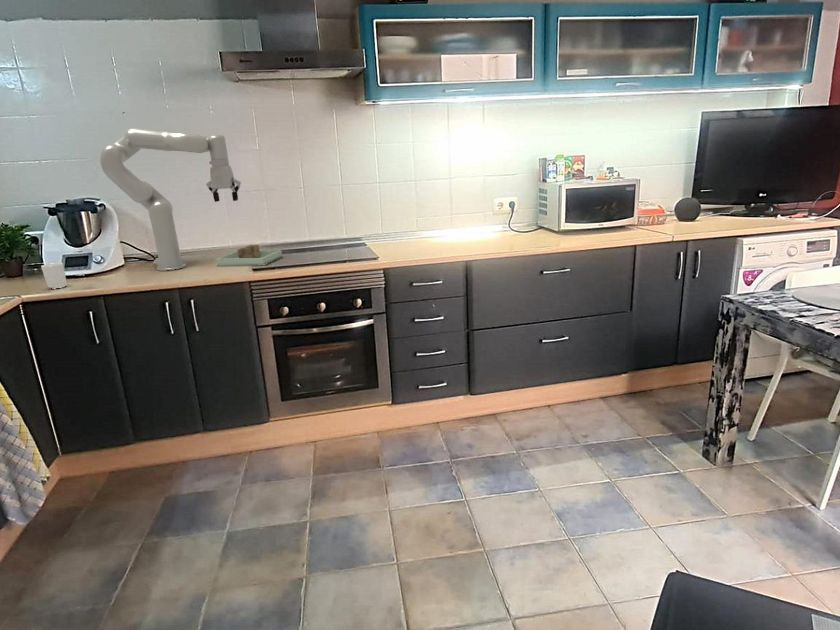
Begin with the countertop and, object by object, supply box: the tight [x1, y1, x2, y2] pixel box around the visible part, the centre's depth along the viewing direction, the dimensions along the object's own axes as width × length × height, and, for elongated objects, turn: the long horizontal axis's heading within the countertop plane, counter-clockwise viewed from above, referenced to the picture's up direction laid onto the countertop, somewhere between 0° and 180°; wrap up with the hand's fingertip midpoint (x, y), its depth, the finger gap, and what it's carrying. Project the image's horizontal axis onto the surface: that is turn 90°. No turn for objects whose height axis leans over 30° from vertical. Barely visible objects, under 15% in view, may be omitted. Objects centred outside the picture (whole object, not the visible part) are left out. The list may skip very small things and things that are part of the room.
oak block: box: [244, 244, 261, 258], centre depth 272 cm, size 4×4×6 cm
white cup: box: [40, 262, 68, 288], centre depth 240 cm, size 8×8×10 cm
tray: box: [215, 250, 283, 267], centre depth 269 cm, size 24×18×4 cm
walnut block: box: [237, 247, 253, 258], centre depth 266 cm, size 4×4×6 cm
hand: (226, 201), depth 267 cm, fingers open, 9 cm apart
